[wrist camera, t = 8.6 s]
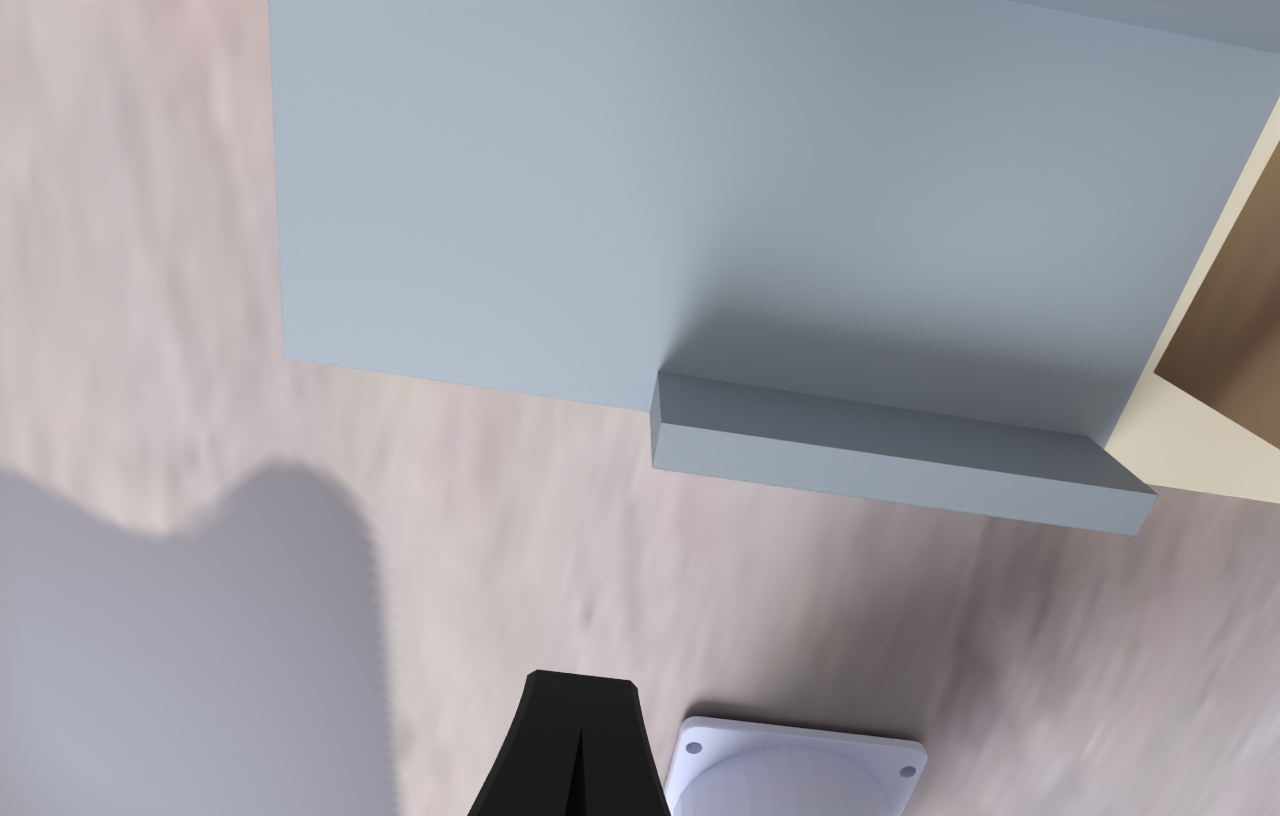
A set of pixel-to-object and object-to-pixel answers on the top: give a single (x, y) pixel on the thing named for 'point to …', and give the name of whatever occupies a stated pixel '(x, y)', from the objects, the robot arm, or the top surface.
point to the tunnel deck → (792, 228)
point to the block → (1237, 320)
